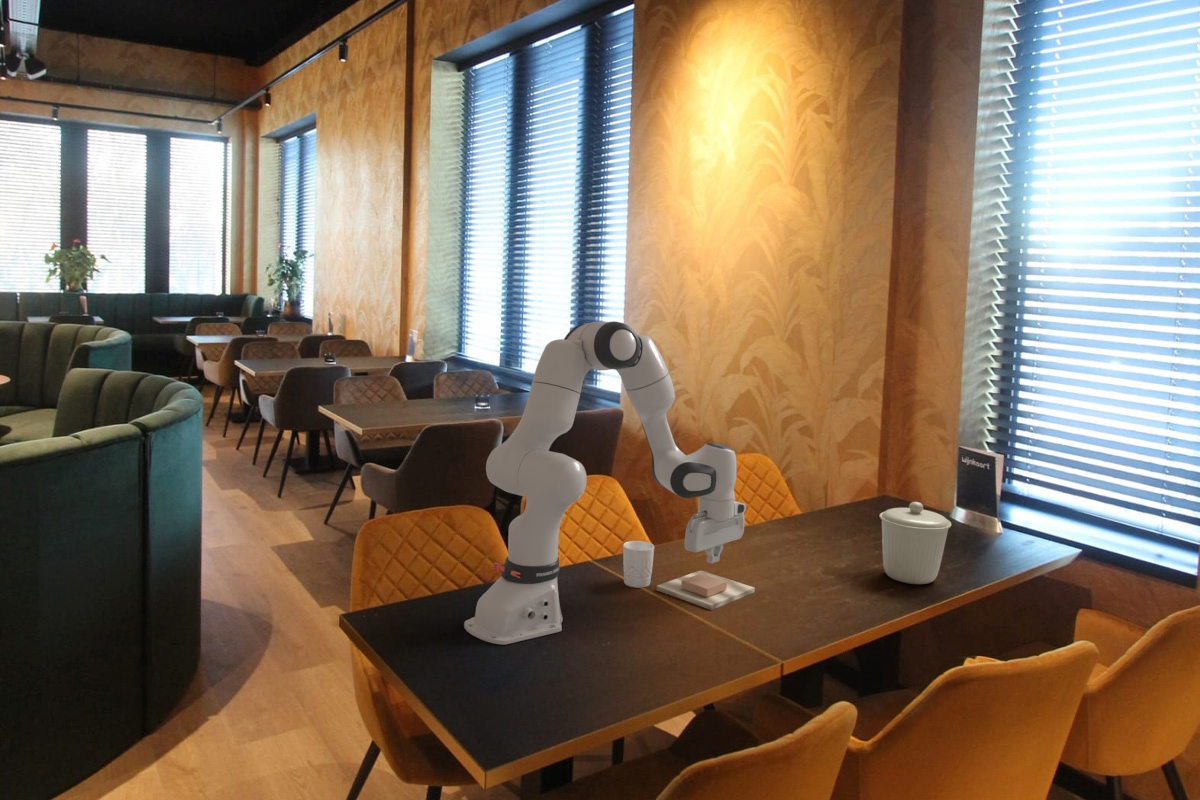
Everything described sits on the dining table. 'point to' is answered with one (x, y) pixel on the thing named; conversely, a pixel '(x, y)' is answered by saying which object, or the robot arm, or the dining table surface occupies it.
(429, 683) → the dining table surface
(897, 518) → the canister
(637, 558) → the white cup
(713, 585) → the block
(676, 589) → the board
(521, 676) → the dining table surface
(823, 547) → the dining table surface
